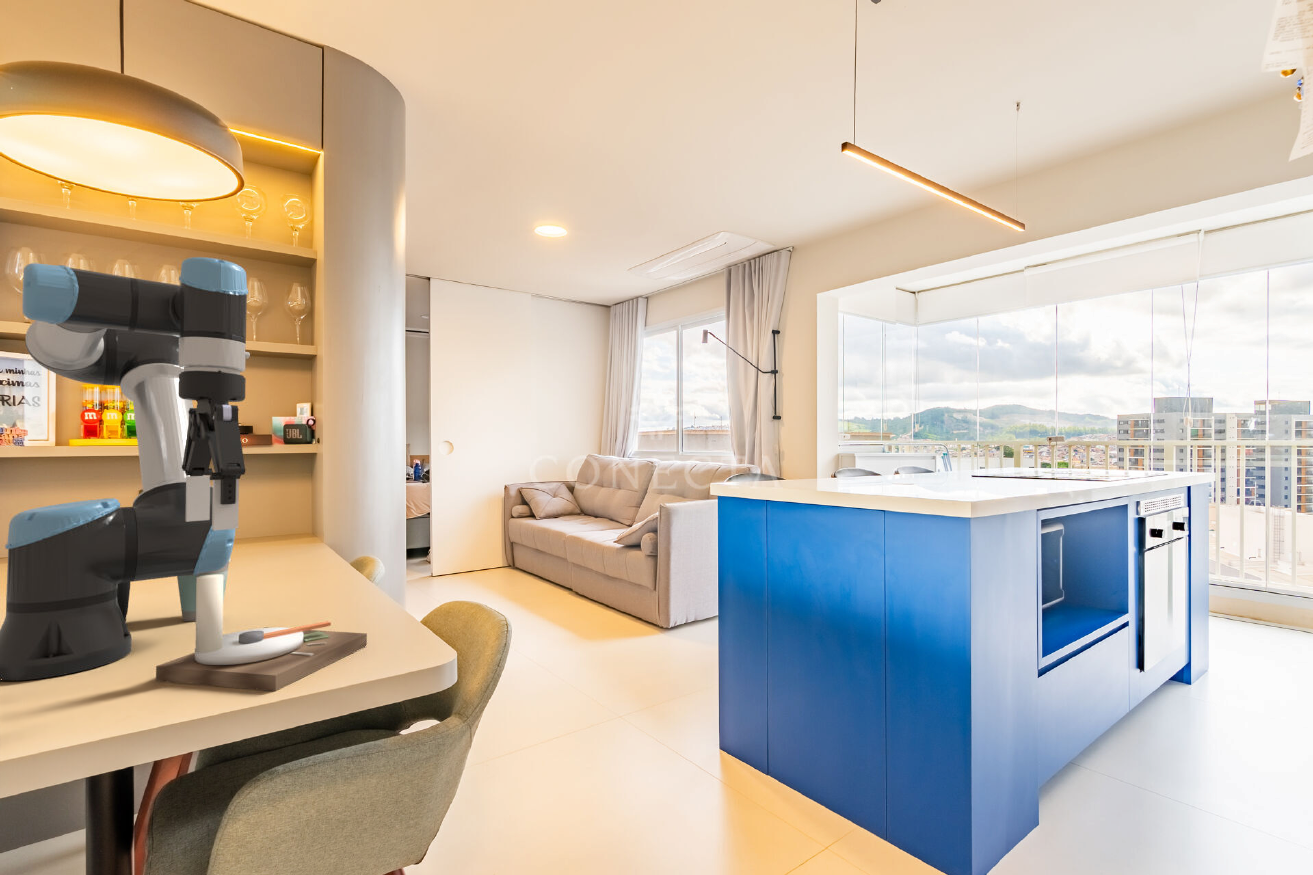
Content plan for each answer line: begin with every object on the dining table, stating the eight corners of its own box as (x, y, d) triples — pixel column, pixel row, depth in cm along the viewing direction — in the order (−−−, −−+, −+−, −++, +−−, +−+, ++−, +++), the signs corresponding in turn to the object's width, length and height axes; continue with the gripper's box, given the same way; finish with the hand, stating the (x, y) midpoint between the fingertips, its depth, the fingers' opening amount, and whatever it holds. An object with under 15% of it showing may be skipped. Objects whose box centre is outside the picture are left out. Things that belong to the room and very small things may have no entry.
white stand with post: (207, 672, 78) (208, 585, 78) (185, 649, 87) (186, 571, 87) (345, 641, 91) (346, 566, 91) (314, 624, 99) (315, 556, 100)
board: (155, 680, 81) (156, 664, 81) (265, 639, 99) (265, 625, 99) (275, 690, 78) (275, 673, 78) (366, 646, 96) (366, 632, 96)
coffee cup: (199, 624, 107) (200, 556, 107) (160, 621, 109) (161, 555, 109) (241, 612, 116) (242, 549, 116) (204, 609, 117) (205, 547, 118)
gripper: (274, 367, 79) (272, 530, 79) (219, 380, 95) (217, 515, 95) (205, 361, 73) (202, 536, 73) (158, 376, 89) (156, 519, 89)
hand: (210, 525), depth 84 cm, fingers open, 13 cm apart
